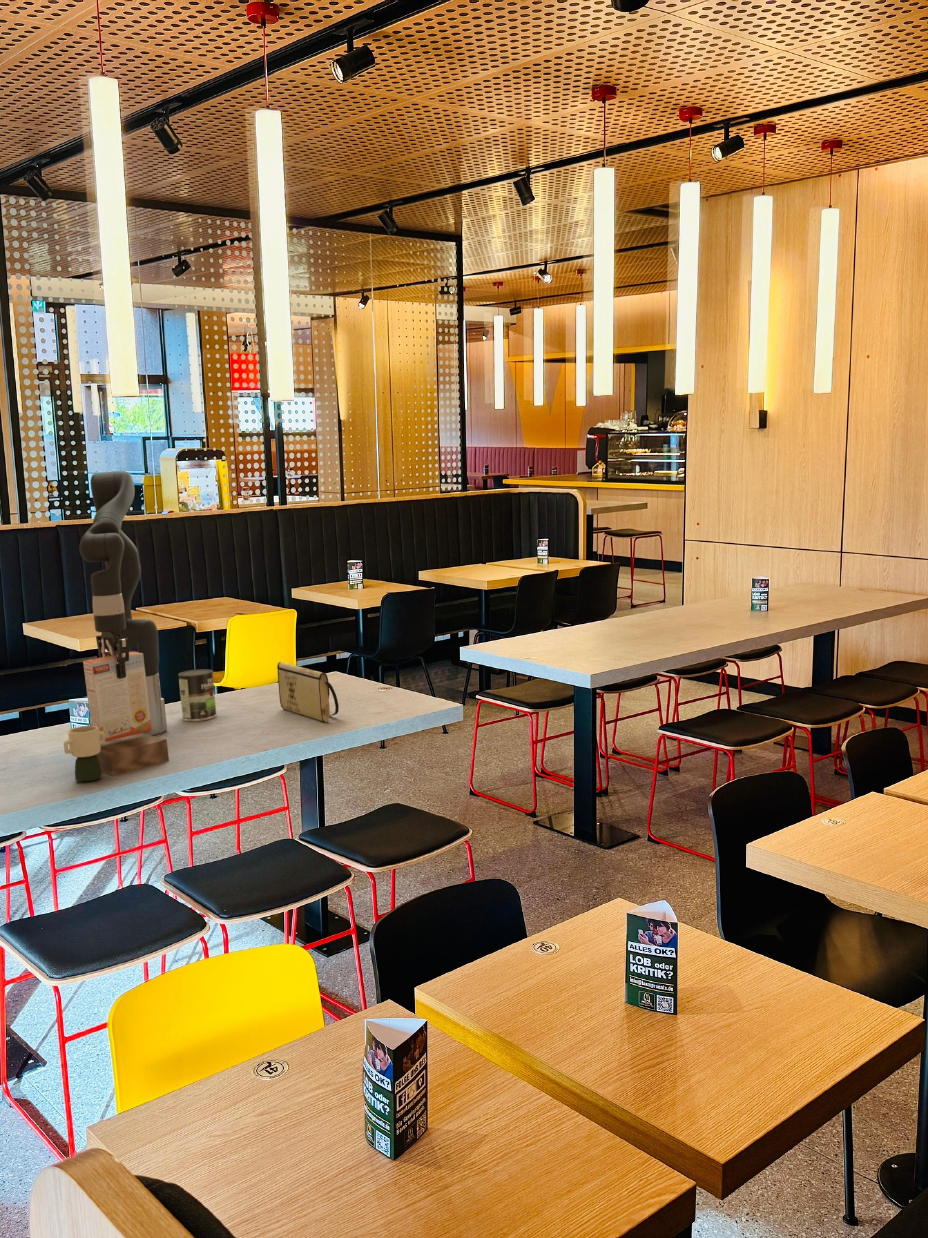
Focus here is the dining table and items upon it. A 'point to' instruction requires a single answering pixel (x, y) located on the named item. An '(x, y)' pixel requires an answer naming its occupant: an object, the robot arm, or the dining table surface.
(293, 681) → the clutch purse
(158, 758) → the walnut block
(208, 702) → the coffee can
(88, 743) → the character mug
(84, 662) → the cracker box
